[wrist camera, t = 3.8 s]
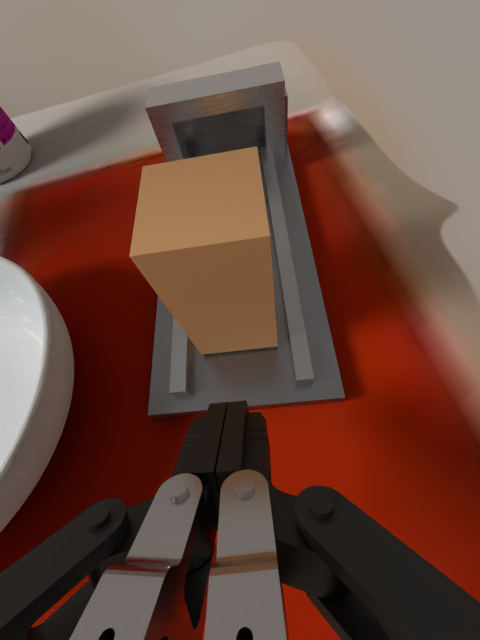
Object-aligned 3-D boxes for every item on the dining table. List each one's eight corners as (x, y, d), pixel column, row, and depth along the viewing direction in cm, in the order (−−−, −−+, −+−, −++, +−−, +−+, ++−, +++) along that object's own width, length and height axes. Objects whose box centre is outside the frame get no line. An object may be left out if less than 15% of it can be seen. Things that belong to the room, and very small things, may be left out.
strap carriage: (277, 346, 19) (270, 235, 10) (201, 354, 19) (129, 256, 10) (260, 212, 24) (245, 66, 15) (201, 221, 25) (154, 84, 16)
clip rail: (341, 401, 18) (374, 361, 11) (155, 418, 19) (85, 390, 12) (285, 146, 30) (285, 54, 23) (173, 166, 31) (142, 83, 25)
